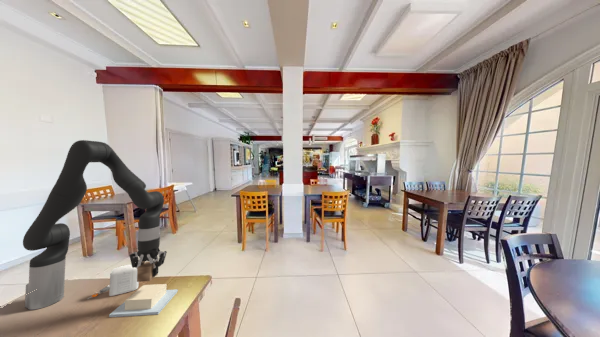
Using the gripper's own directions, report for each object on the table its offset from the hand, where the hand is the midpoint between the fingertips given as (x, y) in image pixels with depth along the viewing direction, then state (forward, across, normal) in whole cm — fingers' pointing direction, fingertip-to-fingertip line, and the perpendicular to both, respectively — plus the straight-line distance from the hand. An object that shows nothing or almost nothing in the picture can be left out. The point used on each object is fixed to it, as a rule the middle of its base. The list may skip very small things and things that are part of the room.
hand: (147, 275), depth 79 cm
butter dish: (+12, 0, 0) cm, 12 cm away
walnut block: (+1, 0, 0) cm, 1 cm away
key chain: (+12, -26, +9) cm, 31 cm away
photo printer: (+12, -16, +9) cm, 22 cm away
